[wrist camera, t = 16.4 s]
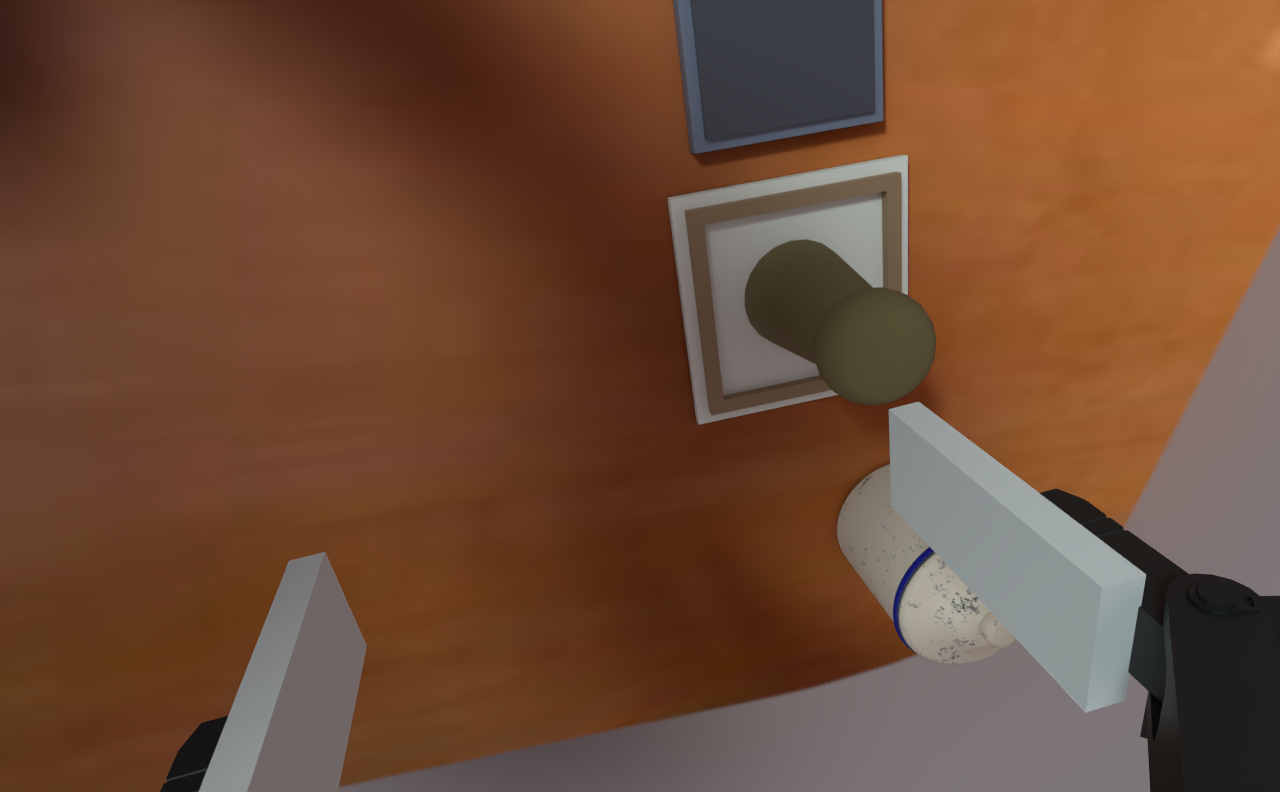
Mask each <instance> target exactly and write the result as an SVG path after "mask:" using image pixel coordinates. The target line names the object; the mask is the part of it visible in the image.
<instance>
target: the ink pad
mask: <svg viewBox="0 0 1280 792" xmlns="http://www.w3.org/2000/svg"><path fill="white" fill-rule="evenodd" d="M673 5H674V14H675V22H676V31H677V40H678V48H679V57H680V66H681V74H682V83H683V92H684V100H685V109H686V118H687V126H688V135H689V144H690V152H691V153H693V154H698V153H703V152H709V151H715V150H720V149H726V148H732V147H737V146H743V145H749V144H754V143H760V142H766V141H771V140H777V139H783V138H788V137H794V136H800V135H805V134H811V133H817V132H822V131H828V130H834V129H839V128H845V127H851V126H856V125H862V124H868V123H873V122H879V121H883V49H882V0H673Z"/></svg>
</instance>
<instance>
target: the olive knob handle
mask: <svg viewBox="0 0 1280 792" xmlns="http://www.w3.org/2000/svg"><path fill="white" fill-rule="evenodd" d="M745 310H746V313H747V316H748V319H749V322H750V324H751V325H752V326H753V327H754V329H755V330H756V331H757V333H758V334H759V335H761V336H762V337H764V338H765V339H767V340H769V341H770V342H772V343H774V344H776V345H778V346H780V347H782V348H784V349H786V350H788V351H790V352H792V353H794V354H796V355H798V356H800V357H802V358H804V359H806V360H808V361H810V362H812V363H814V364H816V366H817V369H818V372H819V374H820V376H821V377H822V379H823V380H824V381H825V383H826V384H827V385H828V387H829V388H830V389H831V390H832V391H833V392H835V393H836V394H838V395H840V396H841V397H843V398H844V399H846V400H848V401H851V402H854V403H859V404H864V405H869V406H872V405H880V404H887V403H890V402H893V401H895V400H897V399H900V398H902V397H904V396H906V395H907V394H909V393H910V392H911V391H912V390H914V389H915V388H916V387H918V386H919V384H920V383H921V382H922V380H923V379H924V378H925V376H926V375H927V374H928V372H929V370H930V367H931V365H932V362H933V360H934V355H935V346H936V336H935V332H934V327H933V323H932V321H931V320H930V318H929V316H928V315H927V313H926V312H925V310H924V309H923V308H922V306H921V305H920V304H919V303H918V302H916V301H915V300H913V299H912V298H911V297H909V296H908V295H906V294H904V293H902V292H900V291H896V290H892V289H888V288H884V287H876V288H873V287H872V286H871V285H870V284H869V283H868V282H867V281H866V280H865V279H863V278H862V277H861V276H860V275H859V274H858V273H857V272H856V271H855V270H854V269H853V268H852V267H850V266H849V265H848V264H847V263H846V262H845V261H844V260H843V259H842V258H841V257H840V256H839V255H838V254H836V253H835V252H834V251H833V250H831V249H830V248H828V247H827V246H825V245H824V244H823V243H819V242H815V241H812V240H808V239H804V240H793V241H788V242H786V243H783V244H781V245H779V246H776V247H774V248H773V249H772V250H770V251H769V252H768V253H767V254H766V255H764V256H763V257H762V258H761V259H760V260H759V261H758V263H757V264H756V266H755V267H754V269H753V270H752V272H751V273H750V276H749V279H748V282H747V285H746V288H745Z"/></svg>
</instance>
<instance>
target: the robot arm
mask: <svg viewBox="0 0 1280 792" xmlns="http://www.w3.org/2000/svg"><path fill="white" fill-rule="evenodd" d="M889 441H890V480H891V506H892V507H893V508H894V509H895V510H896V511H897V512H898V513H899V514H900V516H901V517H902V518H903V519H904V520H905V521H906V522H907V523H908V524H909V525H910V526H911V527H912V528H913V529H914V530H915V532H916V533H917V534H918V535H919V536H920V537H921V538H922V539H923V540H924V541H925V542H926V543H927V544H928V545H929V546H930V547H931V549H932V550H933V551H934V552H935V553H936V554H937V555H938V556H939V557H940V558H941V559H942V560H943V561H944V562H945V563H946V565H947V566H948V567H949V568H950V569H951V570H952V571H953V572H954V573H955V574H956V575H957V576H958V577H959V578H960V579H961V581H962V582H963V583H964V584H965V585H966V586H967V587H968V588H969V589H970V590H971V591H972V592H973V593H974V594H975V595H976V597H977V598H978V599H979V600H980V601H981V602H982V603H983V604H984V605H985V606H986V607H987V608H988V609H989V610H990V611H991V613H992V614H993V615H994V616H995V617H996V618H997V619H998V620H999V621H1000V622H1001V623H1002V624H1003V625H1004V626H1005V627H1006V628H1007V630H1008V631H1009V632H1010V633H1011V634H1012V635H1013V636H1014V637H1015V638H1016V639H1017V640H1018V641H1019V642H1020V643H1021V644H1022V646H1023V647H1024V648H1025V649H1026V650H1027V651H1028V652H1029V653H1030V654H1031V655H1032V656H1033V657H1034V658H1035V659H1036V660H1037V662H1038V663H1039V664H1040V665H1041V666H1042V667H1043V668H1044V669H1045V670H1046V671H1047V672H1048V673H1049V674H1050V675H1051V676H1052V678H1053V679H1054V680H1055V681H1056V682H1057V683H1058V684H1059V685H1060V686H1061V687H1062V688H1063V689H1064V690H1065V691H1066V692H1067V693H1068V694H1069V696H1070V697H1071V698H1073V700H1074V701H1075V702H1076V703H1077V704H1078V705H1079V706H1080V707H1081V708H1082V709H1083V711H1084V712H1089V711H1092V710H1095V709H1098V708H1101V707H1105V706H1108V705H1111V704H1115V703H1118V702H1121V701H1125V700H1126V695H1127V689H1128V683H1129V677H1130V674H1131V675H1132V676H1133V677H1134V678H1135V679H1136V680H1137V681H1138V682H1139V683H1140V684H1142V685H1143V686H1144V687H1145V688H1146V689H1147V690H1148V697H1147V702H1146V708H1145V713H1144V719H1143V725H1142V730H1141V737H1144V738H1147V739H1148V755H1149V773H1150V792H1280V596H1259V595H1258V594H1256V593H1255V592H1254V591H1253V590H1251V589H1250V588H1248V587H1246V586H1244V585H1242V584H1240V583H1238V582H1236V581H1233V580H1231V579H1227V578H1223V577H1219V576H1215V575H1209V574H1188V573H1187V572H1185V571H1184V570H1183V569H1181V568H1180V567H1178V566H1177V565H1176V564H1174V563H1172V562H1171V561H1170V560H1169V559H1167V558H1165V557H1164V556H1163V555H1162V554H1160V553H1159V552H1157V551H1156V550H1155V549H1153V548H1152V547H1150V546H1149V545H1148V544H1146V543H1145V542H1143V541H1142V540H1141V539H1139V538H1138V537H1136V536H1135V535H1134V534H1132V533H1131V532H1129V531H1128V530H1127V531H1125V530H1124V529H1123V527H1122V526H1121V525H1120V524H1118V523H1117V522H1115V521H1114V520H1113V519H1111V518H1107V517H1106V514H1104V513H1103V512H1101V511H1100V510H1099V509H1097V508H1096V507H1094V506H1093V505H1092V504H1090V503H1089V502H1087V501H1086V500H1085V499H1082V498H1079V497H1077V496H1074V495H1072V494H1069V493H1067V492H1064V491H1061V490H1059V489H1053V490H1049V491H1045V492H1042V493H1038V492H1037V491H1036V490H1034V489H1033V488H1032V487H1030V486H1029V485H1028V484H1027V483H1025V482H1024V481H1023V480H1021V479H1020V478H1019V477H1017V476H1016V475H1015V474H1013V473H1012V472H1011V471H1009V470H1008V469H1007V468H1006V467H1004V466H1003V465H1002V464H1000V463H999V462H998V461H996V460H995V459H994V458H992V457H991V456H990V455H988V454H987V453H986V452H984V451H983V450H982V449H981V448H979V447H978V446H977V445H975V444H974V443H973V442H971V441H970V440H969V439H967V438H966V437H965V436H963V435H962V434H961V433H959V432H958V431H957V430H956V429H954V428H953V427H952V426H950V425H949V424H948V423H946V422H945V421H944V420H942V419H941V418H940V417H938V416H937V415H936V414H934V413H933V412H932V411H931V410H929V409H928V408H927V407H925V406H924V405H923V404H921V403H920V402H915V403H911V404H907V405H903V406H899V407H896V408H892V409H889ZM366 647H367V646H366V643H365V641H364V639H363V637H362V634H361V632H360V630H359V628H358V625H357V623H356V621H355V618H354V616H353V614H352V612H351V609H350V607H349V605H348V603H347V600H346V598H345V596H344V594H343V591H342V589H341V587H340V585H339V582H338V580H337V578H336V576H335V573H334V571H333V569H332V567H331V564H330V562H329V560H328V558H327V555H326V553H325V552H323V553H319V554H315V555H311V556H307V557H303V558H299V559H295V560H291V561H289V563H288V565H287V568H286V570H285V573H284V575H283V578H282V580H281V583H280V585H279V588H278V591H277V593H276V596H275V598H274V601H273V603H272V606H271V608H270V611H269V614H268V616H267V619H266V621H265V624H264V626H263V629H262V631H261V634H260V637H259V639H258V642H257V644H256V647H255V649H254V652H253V654H252V657H251V660H250V662H249V665H248V667H247V670H246V672H245V675H244V677H243V680H242V682H241V685H240V688H239V690H238V693H237V695H236V698H235V700H234V703H233V705H232V708H231V711H230V713H229V716H226V717H222V718H218V719H215V720H211V721H207V722H204V723H201V724H200V725H199V727H198V728H197V729H196V730H195V731H194V733H193V734H192V735H191V736H190V737H189V739H188V740H187V741H186V742H185V743H184V745H183V746H182V747H181V748H180V749H179V751H178V753H177V755H176V758H175V760H174V762H173V764H172V767H171V769H170V771H169V773H168V776H167V783H164V785H163V787H162V789H161V791H160V792H338V787H339V782H340V777H341V772H342V767H343V762H344V757H345V752H346V747H347V742H348V737H349V732H350V727H351V722H352V717H353V712H354V707H355V702H356V697H357V692H358V687H359V682H360V677H361V672H362V667H363V662H364V657H365V652H366Z"/></svg>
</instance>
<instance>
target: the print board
mask: <svg viewBox="0 0 1280 792" xmlns="http://www.w3.org/2000/svg"><path fill="white" fill-rule="evenodd" d="M667 200H668V208H669V215H670V223H671V231H672V238H673V246H674V254H675V261H676V269H677V277H678V284H679V292H680V300H681V307H682V315H683V323H684V330H685V338H686V345H687V353H688V361H689V368H690V376H691V384H692V391H693V399H694V407H695V414H696V421H697V423H698V424H699V425H700V424H704V423H709V422H714V421H718V420H723V419H728V418H732V417H737V416H742V415H746V414H751V413H756V412H760V411H765V410H769V409H774V408H779V407H783V406H788V405H793V404H797V403H802V402H807V401H811V400H816V399H821V398H825V397H830V396H835V395H838V394H836V393H835V392H833V391H832V390H831V389H830V388H829V387H828V385H827V384H826V383H825V381H824V380H823V379H822V377H821V376H820V374H819V372H818V369H817V366H816V364H814V363H812V362H810V361H808V360H806V359H804V358H802V357H800V356H798V355H796V354H794V353H792V352H790V351H788V350H786V349H784V348H782V347H780V346H778V345H776V344H774V343H772V342H770V341H769V340H767V339H765V338H764V337H762V336H761V335H759V334H758V333H757V331H756V330H755V329H754V327H753V326H752V325H751V324H750V322H749V319H748V316H747V313H746V310H745V288H746V285H747V282H748V279H749V276H750V273H751V272H752V270H753V269H754V267H755V266H756V264H757V263H758V261H759V260H760V259H761V258H762V257H763V256H764V255H766V254H767V253H768V252H769V251H770V250H772V249H773V248H774V247H776V246H779V245H781V244H783V243H786V242H788V241H793V240H804V239H808V240H812V241H815V242H819V243H823V244H824V245H825V246H827V247H828V248H830V249H831V250H833V251H834V252H835V253H836V254H838V255H839V256H840V257H841V258H842V259H843V260H844V261H845V262H846V263H847V264H848V265H849V266H850V267H852V268H853V269H854V270H855V271H856V272H857V273H858V274H859V275H860V276H861V277H862V278H863V279H865V280H866V281H867V282H868V283H869V284H870V285H871V286H872V287H873V288H876V287H884V288H888V289H892V290H896V291H900V292H902V293H904V294H906V295H908V156H907V155H898V156H893V157H887V158H882V159H876V160H871V161H865V162H860V163H854V164H849V165H843V166H838V167H832V168H827V169H821V170H816V171H810V172H805V173H799V174H794V175H788V176H783V177H777V178H772V179H766V180H761V181H755V182H750V183H744V184H739V185H733V186H728V187H722V188H717V189H711V190H706V191H700V192H695V193H689V194H684V195H678V196H673V197H667Z"/></svg>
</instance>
